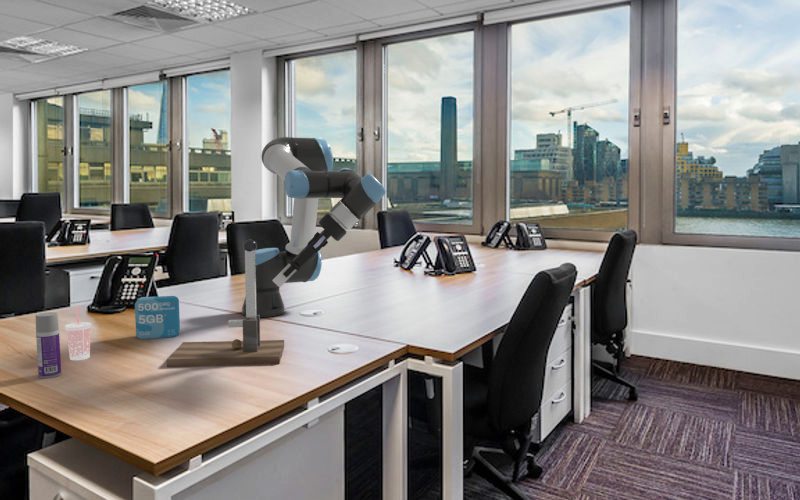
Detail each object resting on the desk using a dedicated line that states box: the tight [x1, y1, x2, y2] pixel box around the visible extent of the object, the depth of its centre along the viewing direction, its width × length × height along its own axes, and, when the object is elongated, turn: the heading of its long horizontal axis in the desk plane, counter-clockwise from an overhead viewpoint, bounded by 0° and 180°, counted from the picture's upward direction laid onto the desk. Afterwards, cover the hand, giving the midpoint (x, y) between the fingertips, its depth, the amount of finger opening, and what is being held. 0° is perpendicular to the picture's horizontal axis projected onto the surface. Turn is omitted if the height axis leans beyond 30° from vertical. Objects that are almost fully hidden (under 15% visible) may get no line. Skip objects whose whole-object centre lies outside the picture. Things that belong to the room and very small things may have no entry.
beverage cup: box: [64, 305, 92, 361], centre depth 149 cm, size 6×6×14 cm
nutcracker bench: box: [166, 315, 285, 368], centre depth 152 cm, size 16×28×10 cm, turn 97°
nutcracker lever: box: [227, 238, 258, 328], centre depth 151 cm, size 4×8×24 cm, turn 97°
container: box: [35, 311, 62, 379], centre depth 135 cm, size 5×5×15 cm
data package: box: [134, 295, 181, 340], centre depth 172 cm, size 12×4×12 cm, turn 108°
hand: (276, 283), depth 152 cm, fingers closed
